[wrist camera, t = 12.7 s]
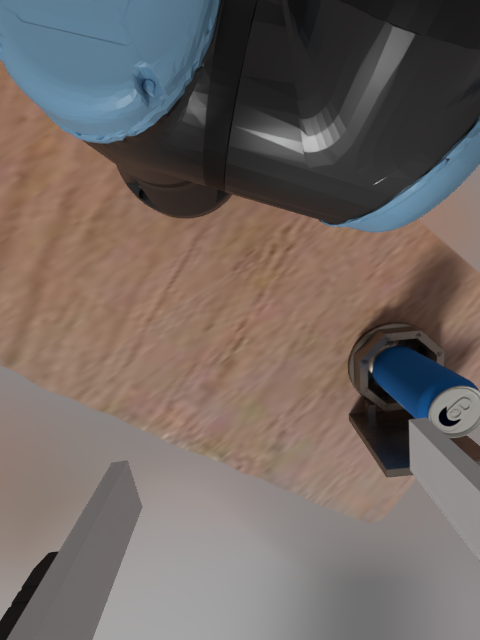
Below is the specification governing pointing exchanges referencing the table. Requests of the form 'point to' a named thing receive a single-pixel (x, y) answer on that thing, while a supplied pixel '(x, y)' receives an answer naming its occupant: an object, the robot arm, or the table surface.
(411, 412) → the beverage can
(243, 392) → the table surface
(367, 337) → the cup bracket
